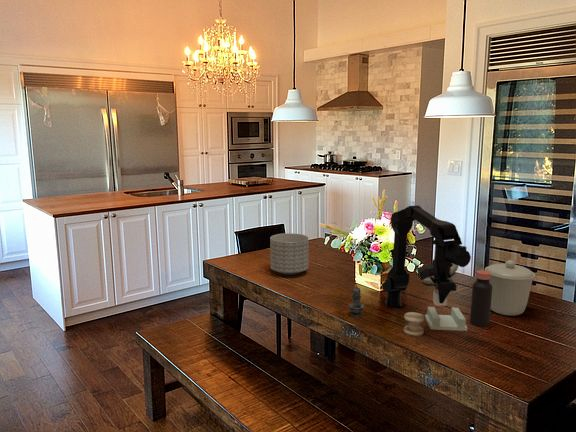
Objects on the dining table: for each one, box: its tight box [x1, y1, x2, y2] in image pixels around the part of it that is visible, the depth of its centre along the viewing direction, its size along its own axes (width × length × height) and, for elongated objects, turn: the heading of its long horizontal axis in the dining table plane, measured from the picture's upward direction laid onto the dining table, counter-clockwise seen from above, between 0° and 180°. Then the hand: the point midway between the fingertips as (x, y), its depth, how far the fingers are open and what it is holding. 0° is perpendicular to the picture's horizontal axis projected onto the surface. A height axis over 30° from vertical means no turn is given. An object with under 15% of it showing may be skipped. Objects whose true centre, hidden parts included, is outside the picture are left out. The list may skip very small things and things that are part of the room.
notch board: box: [424, 306, 468, 332], centre depth 178 cm, size 11×13×4 cm
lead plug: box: [432, 288, 448, 307], centre depth 169 cm, size 4×4×6 cm
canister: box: [484, 259, 536, 317], centre depth 189 cm, size 18×18×21 cm
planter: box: [269, 232, 309, 276], centre depth 237 cm, size 19×19×18 cm
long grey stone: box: [422, 263, 459, 286], centre depth 233 cm, size 35×5×10 cm
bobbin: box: [403, 311, 425, 337], centre depth 171 cm, size 7×7×6 cm
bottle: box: [469, 269, 492, 327], centre depth 177 cm, size 7×7×20 cm
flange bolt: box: [348, 285, 365, 318], centre depth 186 cm, size 6×6×12 cm
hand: (439, 300), depth 170 cm, fingers closed on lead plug, 4 cm apart
